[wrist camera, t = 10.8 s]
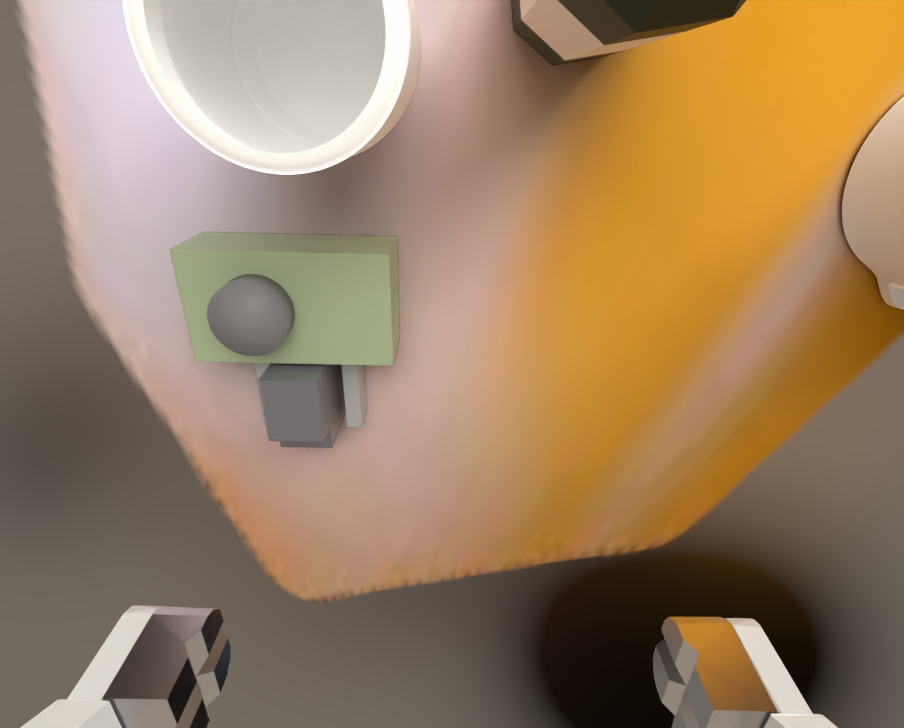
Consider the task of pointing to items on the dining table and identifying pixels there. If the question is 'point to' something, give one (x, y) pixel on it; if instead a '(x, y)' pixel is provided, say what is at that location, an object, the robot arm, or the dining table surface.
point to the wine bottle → (609, 24)
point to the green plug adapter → (292, 302)
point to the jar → (279, 74)
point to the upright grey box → (302, 403)
